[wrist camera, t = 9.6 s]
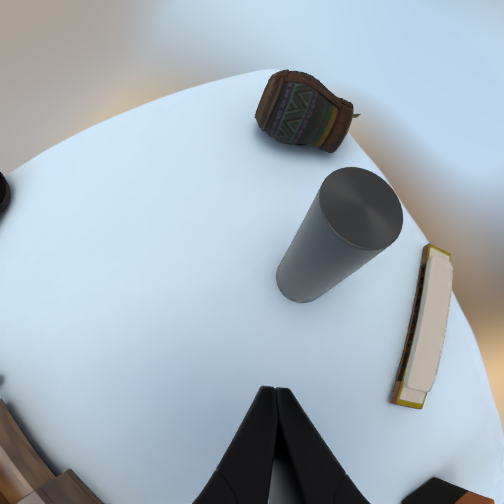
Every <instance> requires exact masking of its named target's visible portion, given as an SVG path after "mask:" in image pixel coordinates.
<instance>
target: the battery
mask: <svg viewBox="0 0 504 504" xmlns="http://www.w3.org/2000/svg"><path fill="white" fill-rule="evenodd" d="M402 504H494V500H493V499H490V498H487V497H484V496H481V495H479V494H476V493H473V492H471V491H468V490H465V489H463V488H460V487H458V486H455V485H453V484H450V483H448V482H446V481H443V480H441V479H439V478H436V477H434V478H432V479H431V480H430V481H428V482H427V483H426V484H425V485H423V486H422V487H421V488H419V489H418V490H417V491H416V492H414V493H413V494H412V495H410V496H409V497H407V498H406V499H405V500H403V501H402Z"/></svg>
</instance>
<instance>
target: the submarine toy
mask: <svg viewBox="0 0 504 504" xmlns="http://www.w3.org/2000/svg"><path fill="white" fill-rule="evenodd" d="M9 201H10V188H9V185H8V183H7V181H6V179H5V177H4V176H3V174H2V173H1V172H0V212H2V211H4V210H5V209H6V208H7V206H8V204H9Z"/></svg>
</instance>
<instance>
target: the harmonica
mask: <svg viewBox="0 0 504 504" xmlns="http://www.w3.org/2000/svg"><path fill="white" fill-rule="evenodd" d="M450 260H451V258H450V253H448V252H446V251H444V250H441V249H440V248H438V247H436V246H434V245H431V244H427V245H426V246H425V247H424V248H423V256H422V264H421V266H420V270H419V277H418V284H417V290H416V296H415V301H414V307H413V312H412V317H411V322H410V326H409V331H408V335H407V339H406V344H405V348H404V352H403V355H402V359H401V363H400V367H399V370H398V374H397V377H396V385H395V388H394V391H393V394H392V398H391V401H390V403H392V404H396V405H401V406H406V407H410V408H415V409H422V407H423V404H424V401H425V398H426V395H427V392H429V391H430V390H431V388H432V386H433V384H434V381H435V377H436V374H437V370H438V365H439V361H440V357H441V352H442V347H443V342H444V337H445V332H446V326H447V320H448V313H449V306H450V299H451V290H452V279H453V266H452V264H451V263H450Z"/></svg>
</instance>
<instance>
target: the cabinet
mask: <svg viewBox="0 0 504 504" xmlns="http://www.w3.org/2000/svg"><path fill="white" fill-rule="evenodd" d="M15 504H103V503H102V502H101V501H100V500H99V499H98V498H97V497H96V496H95V495H94V494H93V493H92V492H91V491H90V490H89V489H88V488H87V487H86V486H85V485H84V483H83V482H82V481H81V480H80V479H79V478H78V477H77V476H76V475H75V474H74V472H73V471H72V470H71V469H69V470H68V471H66V472H64V473H63V474H61V475H59V476H58V477H56V478H54V479H53V480H51V481H49V482H47V483H46V484H44V485H42V486H40V487H39V488H37V489H35V490H33V491H32V492H31V493H29V494H28V495H27V496H25V497H24V498H22V499H21V500H20V501H18V502H17V503H15Z"/></svg>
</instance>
